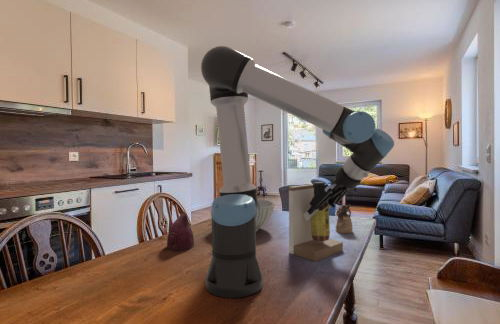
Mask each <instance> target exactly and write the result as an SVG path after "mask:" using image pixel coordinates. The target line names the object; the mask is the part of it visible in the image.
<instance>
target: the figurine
mask: <svg viewBox="0 0 500 324" xmlns="http://www.w3.org/2000/svg"><path fill="white" fill-rule="evenodd" d="M350 208H351V205H350V204H348V205H345V203H344V204H341V205H340V206H339V207H338V210H337V211H336V213H337V221H336V225H335V232H336V233H339V234H351V233H353V223H352V219H351V216H352V211H351V209H350ZM348 213H349V214H348Z"/></svg>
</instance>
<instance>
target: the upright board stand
mask: <svg viewBox="0 0 500 324" xmlns="http://www.w3.org/2000/svg"><path fill="white" fill-rule="evenodd" d="M287 189H288V251H289V252H288V253H289V254H292V255H294V256H297V257H299V258H303V259H305V260H309V261H312V262H317V261H320V260H323V259H325V258H328V257H331V256H333V255H336V254H337V253H341V252H343V251H344V250H343V249H344V242H343V241H339V240H335V239H331V238H329V240H326V241H316V240H313V239H312V234H311V219H310V220H309V221H306V219H305V218H304V217H303V214H304V213H305V212H306V211H307V210H308V208H309V207H310V206H311V205H310V204H309V203H310V202H311V200H312V198H313V196H314V188H313V183H311V184H303V185H295V186H293V185H291V186H288V187H287Z"/></svg>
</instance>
